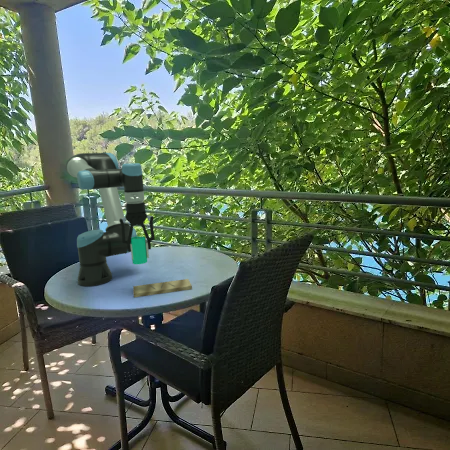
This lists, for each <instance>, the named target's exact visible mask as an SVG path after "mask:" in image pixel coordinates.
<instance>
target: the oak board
mask: <svg viewBox="0 0 450 450" xmlns="http://www.w3.org/2000/svg"><path fill="white" fill-rule="evenodd" d="M192 289H193V285H192V283H191V282H190V279H189V278H185V279H184V278H183V279H179V280H178V279H175V280H171V281H170V280H169V281H164V282H154V283H148V284H146V283H145V284H140V285H139V284H138V285H133V288H132V290H133V291H132V292H133V293H132V294H133V298H140V297H147V296H153V295H160V294H168V293H175V292H182V291H189V290H192Z"/></svg>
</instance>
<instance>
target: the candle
mask: <svg viewBox="0 0 450 450" xmlns="http://www.w3.org/2000/svg"><path fill="white" fill-rule="evenodd" d="M136 234H137V236H136V237H132V238H131V244H132V251H133V260H132V259H131V260H132V264H133V265H143V264H146V263H148V258H147V251H146V241H147V239H146V236H145V235H144V236H143V235H142V236H139V235H138V233H136Z"/></svg>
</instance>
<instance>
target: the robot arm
mask: <svg viewBox="0 0 450 450" xmlns="http://www.w3.org/2000/svg"><path fill="white" fill-rule="evenodd" d="M65 169H66V172H67V173H68V174H69V175H70V176H71V177H73V178H76V180H77V185H78V188H79V189H80V190H84V191H85V190H86V191H87V190H88V191H90V190H96V189H98V191H99V196H100V198H101V202H102V208H103V211H104V215H105V220H106V224H107V225H106V227H105V231H104V230H103V229H92V230H89V231H85V232H82V233H81V234H78V236H77V238H76V248H77V250H78V251H77V253H78V261H79V270H78V274H77V284H78V285H79V286H81V287H94V286H100V285H103V284H107V283H109V282H110V281H112V280H113V274H112V271H111V269H110V267H109V265H108V263H107V258H108V257H113V256H114V257H115V256H118V255H123V254H126V255H127V254H129V253H130V255H131V260H133V251H132V244H131V238H132V237H136V236H137V234H138V233H137V231H136V228H134V227H135V226H141V228H142V231H143V234H144V237H145V240H146V251H147V259H149V258H150V255H149V253H150V252H149V250H152V249H151V248H152V245H151V242H152V241H154V240H155V229H154V223H153V222H154V219H155V218H154V215H148V213H146V203H145V200H146V199H145V191H144V189H145V188H144V177H143V169H142V165H141V163H139V162H135V163H134V162H133V163H132V162H131V163H123V164H122V166H121V168H120V167H119V162H118V159H117V157H116V156H115V154H114V153H112V152H86V153H85V152H81V153H76V154H74V155H72V156H70V158H68V160H67V161H66V163H65ZM118 188H123V193H124V201H125V211H126V215H125V213H124V210H123V206H122V205H123V204H122V203H121V198H120V195H119V190H118ZM146 220H147V221H149V222H148V223H149V230H150V235H149V234H148V231H147V229H146V226H145V221H146Z"/></svg>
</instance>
